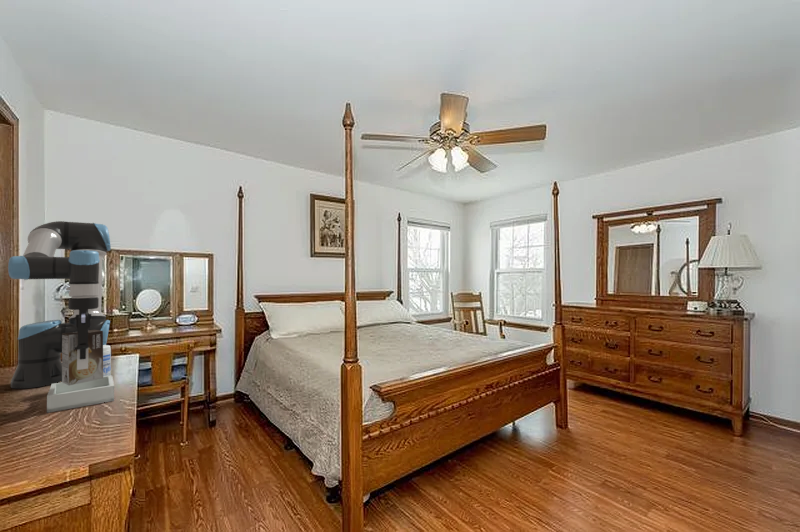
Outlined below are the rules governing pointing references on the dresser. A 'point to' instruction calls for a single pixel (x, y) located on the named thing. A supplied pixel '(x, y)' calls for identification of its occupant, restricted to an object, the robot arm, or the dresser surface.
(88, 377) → the coffee box
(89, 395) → the tote
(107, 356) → the supplement tub
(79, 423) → the dresser surface
